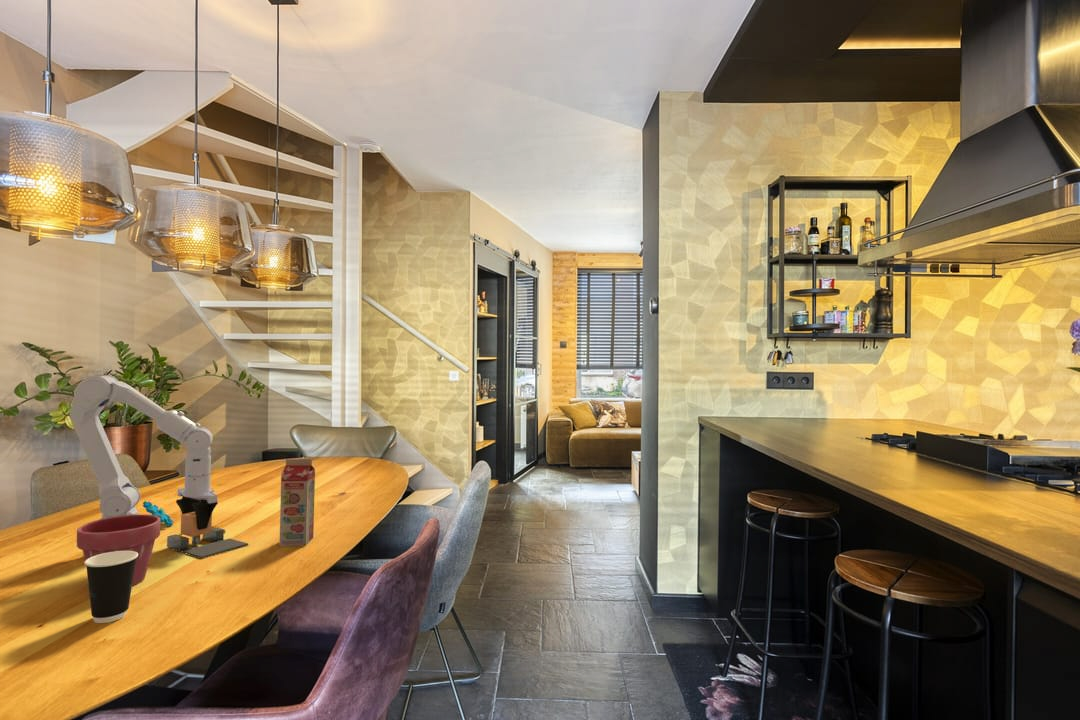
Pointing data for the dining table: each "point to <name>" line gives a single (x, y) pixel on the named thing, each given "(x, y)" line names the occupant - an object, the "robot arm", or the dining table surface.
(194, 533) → the collar
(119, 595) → the dixie cup
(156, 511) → the gear
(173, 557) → the dining table surface
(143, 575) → the plant pot
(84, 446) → the robot arm
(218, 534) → the vise
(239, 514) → the dining table surface
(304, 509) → the juice carton
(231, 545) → the panel
